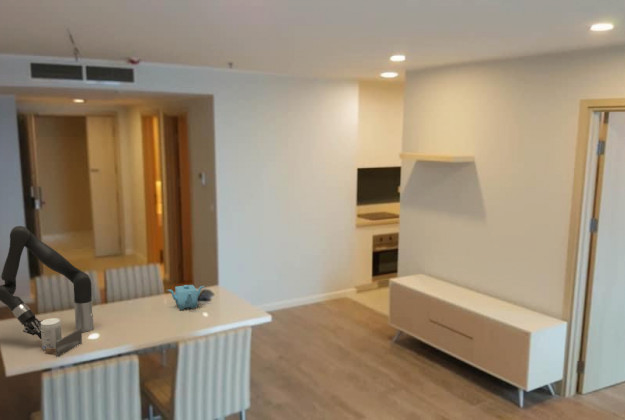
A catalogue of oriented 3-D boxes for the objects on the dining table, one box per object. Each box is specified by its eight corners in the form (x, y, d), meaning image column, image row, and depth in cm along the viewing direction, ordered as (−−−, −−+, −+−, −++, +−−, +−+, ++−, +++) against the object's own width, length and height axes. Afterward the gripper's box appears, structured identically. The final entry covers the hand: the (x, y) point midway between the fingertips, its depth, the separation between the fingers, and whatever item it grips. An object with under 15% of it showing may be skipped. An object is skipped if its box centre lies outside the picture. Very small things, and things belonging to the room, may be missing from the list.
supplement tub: (58, 342, 283) (56, 316, 281) (65, 347, 277) (63, 321, 274) (39, 347, 276) (37, 321, 274) (45, 352, 270) (44, 326, 268)
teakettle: (182, 300, 355) (182, 280, 353) (206, 304, 349) (206, 283, 346) (166, 309, 337) (165, 287, 335) (190, 313, 331) (190, 291, 329)
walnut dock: (43, 354, 268) (42, 339, 266) (67, 341, 285) (67, 327, 284) (58, 356, 265) (57, 342, 264) (82, 343, 283) (81, 329, 281)
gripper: (17, 313, 271) (38, 339, 270) (36, 305, 284) (56, 329, 282) (10, 322, 273) (30, 347, 272) (29, 314, 286) (49, 337, 285)
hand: (43, 338), depth 277 cm, fingers closed
